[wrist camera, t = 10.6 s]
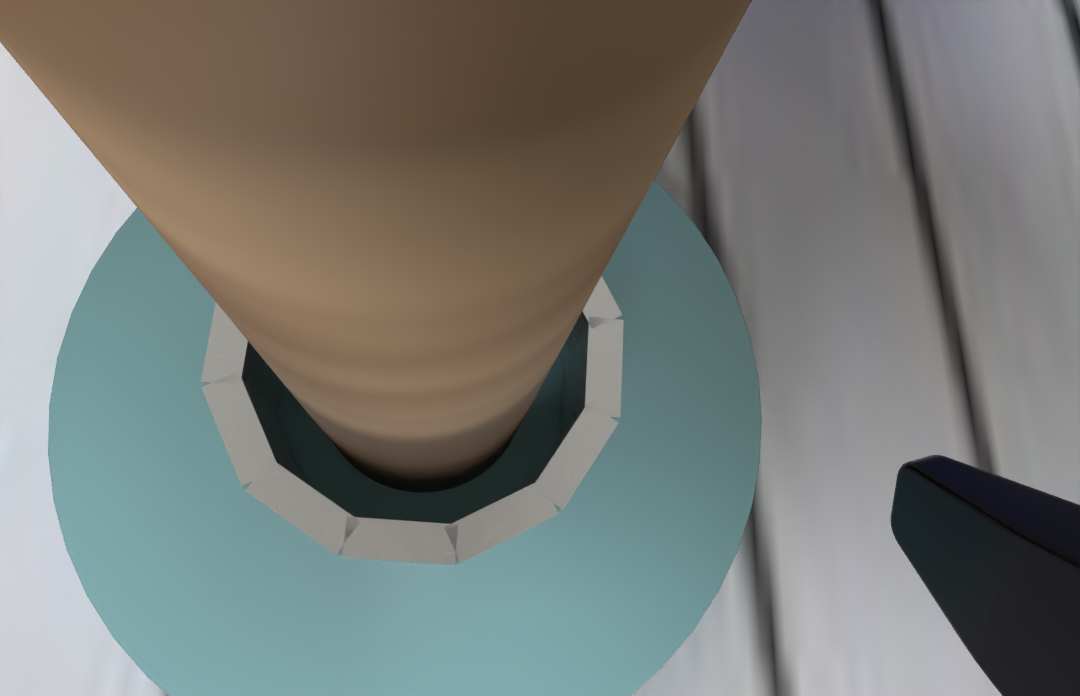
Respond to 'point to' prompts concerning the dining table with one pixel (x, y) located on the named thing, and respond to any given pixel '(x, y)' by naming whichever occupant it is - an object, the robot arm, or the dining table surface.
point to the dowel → (385, 183)
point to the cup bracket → (405, 495)
